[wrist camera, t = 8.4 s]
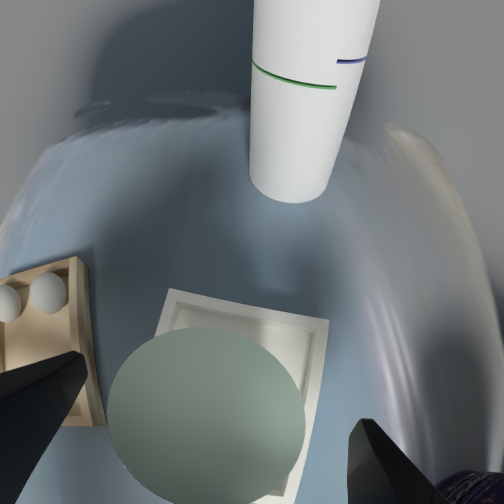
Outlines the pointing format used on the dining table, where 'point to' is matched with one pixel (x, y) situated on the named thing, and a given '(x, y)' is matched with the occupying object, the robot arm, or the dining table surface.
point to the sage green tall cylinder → (206, 417)
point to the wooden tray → (55, 333)
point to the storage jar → (473, 488)
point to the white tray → (273, 340)
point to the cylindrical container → (303, 90)
